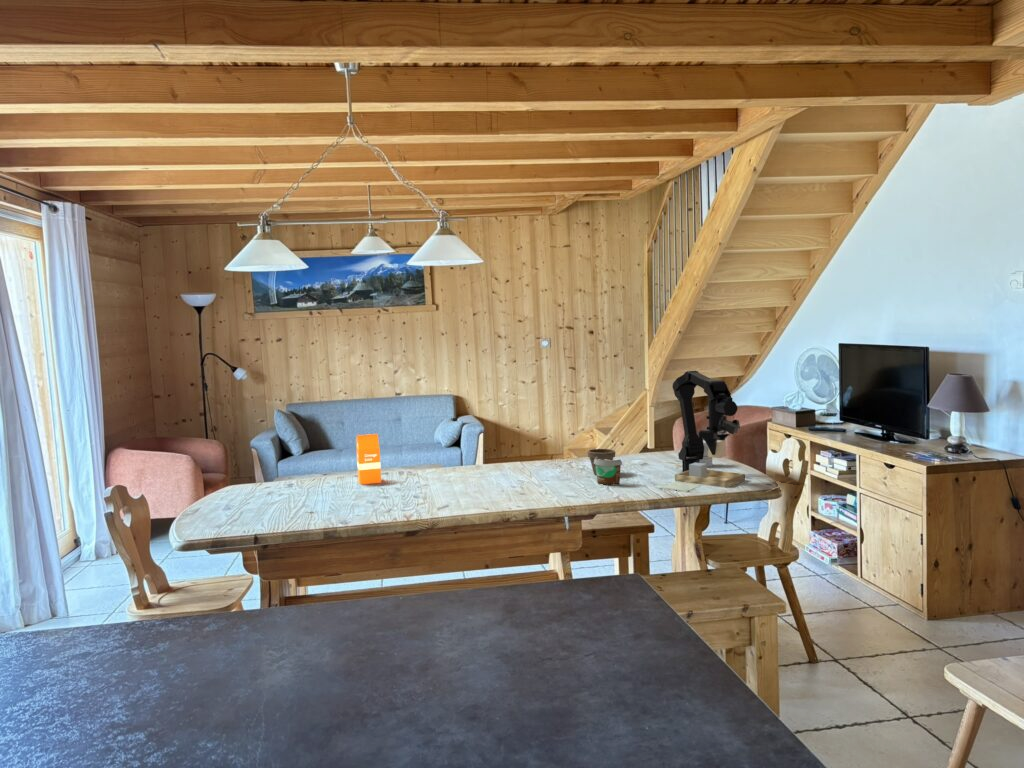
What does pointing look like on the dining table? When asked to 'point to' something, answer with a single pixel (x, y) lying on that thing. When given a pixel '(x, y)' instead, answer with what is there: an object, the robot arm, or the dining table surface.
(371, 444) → the orange juice
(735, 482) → the wooden tray
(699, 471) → the blue-grey box
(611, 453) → the flower pot
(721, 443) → the tan box
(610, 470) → the food container
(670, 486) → the sage tile
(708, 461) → the light bulb box
